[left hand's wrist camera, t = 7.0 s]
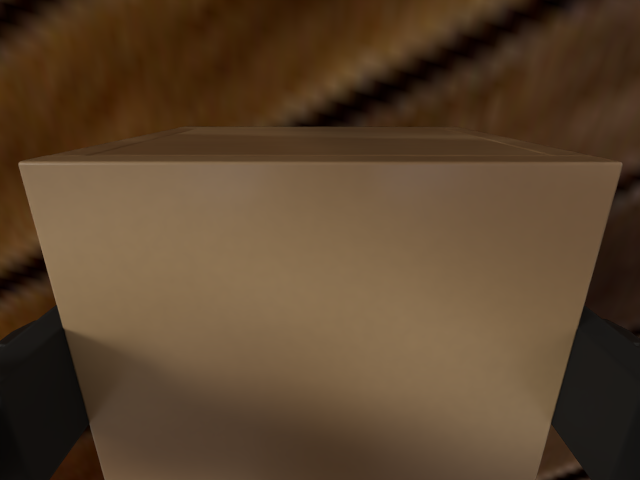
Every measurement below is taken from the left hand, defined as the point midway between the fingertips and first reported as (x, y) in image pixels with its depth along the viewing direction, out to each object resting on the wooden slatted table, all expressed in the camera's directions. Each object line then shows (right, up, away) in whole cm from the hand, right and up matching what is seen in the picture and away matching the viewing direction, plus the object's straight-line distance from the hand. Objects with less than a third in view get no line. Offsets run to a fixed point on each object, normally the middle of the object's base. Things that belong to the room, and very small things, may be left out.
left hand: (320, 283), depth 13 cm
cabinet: (0, -1, +5) cm, 5 cm away
